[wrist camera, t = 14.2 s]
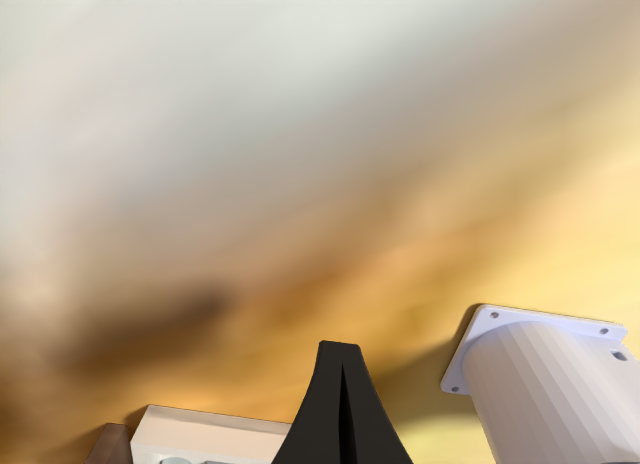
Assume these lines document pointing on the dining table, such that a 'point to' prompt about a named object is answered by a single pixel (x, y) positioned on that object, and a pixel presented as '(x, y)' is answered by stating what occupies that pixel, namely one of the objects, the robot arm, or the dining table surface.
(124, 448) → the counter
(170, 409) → the white tray
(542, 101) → the dining table surface
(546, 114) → the dining table surface
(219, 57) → the dining table surface
